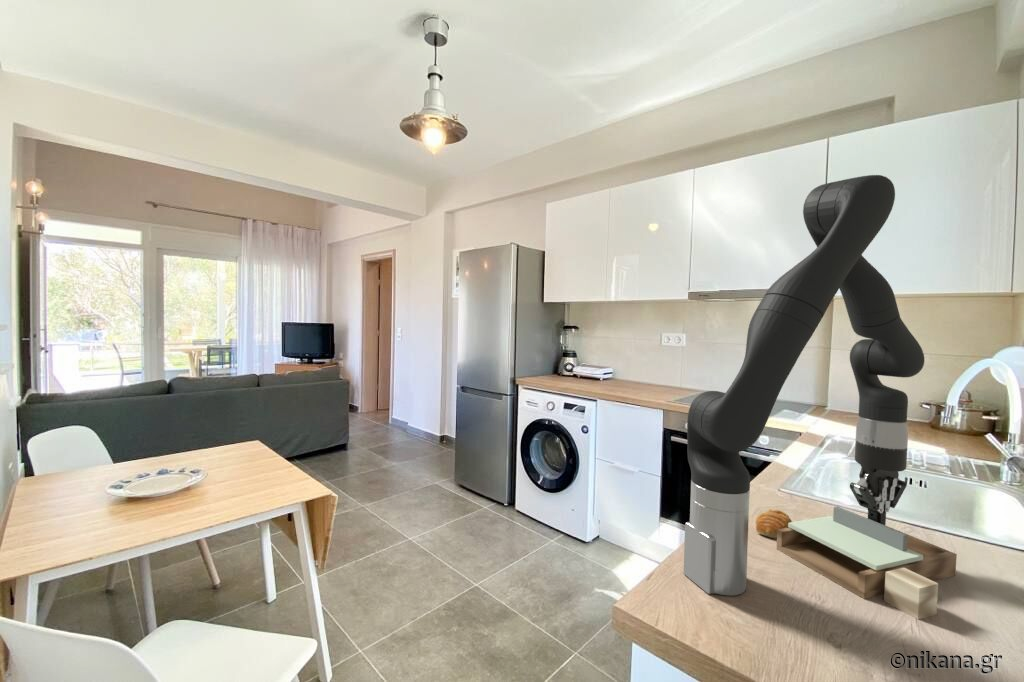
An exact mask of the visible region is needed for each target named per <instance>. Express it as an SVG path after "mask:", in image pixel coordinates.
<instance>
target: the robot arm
mask: <svg viewBox="0 0 1024 682" xmlns="http://www.w3.org/2000/svg"><path fill="white" fill-rule="evenodd" d="M895 188H896V187H895V185H894V183H893V181H892V180H891V178H888V177H887V176H885V175H880V174H871V175H870V174H869V175H862V176H857V177H851V178H846V179H841V180H836V181H831V182H828V183H824V184H820V185H817V187H815V188H812V190H811V191H810V192H809V193H808V195H807V196H806V198H805V200H804V203H803V208H802V214H803V221H804V224H805V227H806V229H807V231H808V233H809V235H810V237H811V238H812V241H813V242H814V244H815V246H816V248H815V249H814V250H813V251H812V252H811V253H809V255H807V256H806V257H804V258H803V259H802V260H801V261H799V262H798V263H797V264H796V265H794V266H793V267H791V268H790V269H789V270H788V271H786V272H785V273H784V274H782V275H781V276H780V277H778V279H777V280H775V281H774V282H773V283H772V285H770V287H769V288H768V290H767V291H766V292H765V294H764V296H763V297H762V299H761V300H760V303H759V304H758V305H757V307H756V309H755V311H754V313H753V315H752V317H751V319H750V322H749V324H748V330H747V335H746V344H745V346H746V347H745V353H744V354H745V356H744V357H743V358H744V359H743V363H742V365H741V367H740V369H739V371H738V373H737V375H736V377H735V378H734V380H733V381H732V383H731V385H730V386H729V388H727V390H726V392H723V391H718V390H717V391H716V390H708V391H707V390H706V391H705V392H701V393H700V394H699V395H697V396H696V397H695V398H694V399H693V400H692V402H691V403H690V405H689V406H690V407H689V409H688V414H687V425H686V426H687V427H686V428H687V429H686V431H687V433H686V436H687V444H686V445H687V446H686V447H687V461H688V464H689V467H690V473H691V477H690V478H691V479H690V505H689V506H690V507H689V508H690V509H689V512H690V513H689V521H687V522H685V524H684V549H683V550H684V551H683V575H685V576H686V577H687V578H688V579H689V580H690V581H692V582H693V583H694V584H695V585H697V586H698V587H699V588H700V589H702V590H703V591H704V592H705V593H706V594H707V595H711V594H718V595H721V596H729V597H730V596H739V595H742V594H743V593H744V592H745V591H746V589H747V576H748V575H747V574H748V572H747V571H748V545H749V544H748V542H749V538H748V537H749V521H750V519H749V516H750V514H749V513H750V492H751V475H750V472H749V470H748V469H747V467H746V466H745V464H744V462H743V460H742V458H741V455H740V452H744V451H745V450H747V449H749V448H750V447H752V446H754V444H755V443H756V442H758V439H759V438H760V436H761V434H763V433H762V432H763V431H764V428H765V427H766V425H767V422H768V420H769V418H770V415H771V413H772V410H773V408H774V406H775V404H776V401H777V399H778V397H779V395H780V392H781V390H782V388H783V387H784V384H785V382H786V380H787V379H788V377H789V375H790V373H791V372H792V371H793V368H794V367H795V365H796V363H797V361H798V359H799V358H800V355H802V352H803V351H804V349H805V348H806V345H807V344H808V343H809V341H810V339H811V338H812V336H813V335H814V333H815V331H816V330H817V328H818V326H819V324H820V323H821V320H823V317H824V316H825V314H826V312H827V310H828V308H829V306H830V304H831V303H832V301H833V300H834V297H835V296H836V294H837V292H838V291H840V293H841V296H842V299H843V302H844V305H845V308H846V312H847V316H848V318H849V321H850V322H849V323H850V325H851V328H852V330H853V332H854V333H855V334H856V335H857V336H859V337H863V338H865V339H860V340H858V341H856V342H855V343H854V344H853V346H852V347H851V349H850V352H849V362H850V366H851V370H852V372H853V376H854V379H855V382H856V387H857V391H858V392H857V393H858V397H859V399H858V418H857V422H856V428H855V442H854V443H855V445H854V460H855V462H856V463H857V464H858V465H860V466H861V468H860V472H859V474H858V477H859V480H858V481H857V482H856V483H855V482H850V483H849V489H850V491H851V492H852V495H853V496H854V497H855V499H856V501H857V503H858V504H859V506H860V507H863V508H865V509H867V518H868V519H870V520H873V521H875V522H878V523H880V524H883V525H885V526H886V524H887V523H886V520H887V513H889V512H890V508H891V509H895V508H896V507H897V504H898V503H899V500H900V499H901V497H902V495H903V493H904V491H905V490H906V488H907V486H908V483H907V481H905V480H901V479H900V478H899V476H900V474H899V472H903V471H905V470H906V469H907V462H908V461H907V459H908V445H909V444H908V443H909V430H908V407H909V398H908V395H907V393H906V392H904V391H903V390H900V389H896V388H893V387H889V386H887V385H885V384H883V383H882V381H881V380H880V378H879V377H878V376H882V377H883V376H884V377H895V378H911V377H914V376H916V375H918V374H919V373H920V372H921V371H922V369H923V368H924V365H925V353H924V351H923V349H922V346H921V345H920V343H919V342H918V341H917V339H916V338H915V336H914V335H913V334H912V332H911V331H910V330H909V328H908V327H907V325H906V324H905V323H904V321H903V320H902V318H901V314H900V311H899V308H898V304H897V300H896V296H895V294H894V291H893V288H892V286H891V284H890V283H889V282H888V281H887V279H886V277H884V275H883V274H882V273H880V272H879V270H878V269H877V268H876V267H874V266H873V265H872V264H871V263H870V262H869V261H868V260H867V258H865V257H864V256H863V255H864V254H863V253H864V252H865V251H866V250H867V248H868V247H869V246H870V244H871V243H872V242H873V240H874V239H875V238H876V237H877V235H878V233H880V231H881V229H882V228H883V226H884V225H885V223H886V222H887V220H888V218H889V216H890V214H891V212H892V210H893V207H894V205H895V199H896V190H895Z"/></svg>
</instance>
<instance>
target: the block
mask: <svg viewBox="0 0 1024 682" xmlns="http://www.w3.org/2000/svg"><path fill="white" fill-rule="evenodd" d="M938 591H939V583H938V582H936V581H932V580H930V579H927V578H925V577H923V576H921V575H919V574H917V573H915V572H912V571H910V570H908V569H906V568H900V569H895V570H891V571H887V572H886V573H885V594H883V595H884V596H883V598H884V599H883V601H884V602H885V603H887V604H889V605H891V606H893V607H894V608H897V609H898V610H900V611H901V612H904V613H905V614H907V615H909V616H910V617H912V618H914V619H916V620H920V619H921V620H922V619H925V618H928V617H932V616H935V615H937V614H938V612H937V611H938V597H939V596H938V594H939V592H938Z"/></svg>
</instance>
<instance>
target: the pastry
mask: <svg viewBox="0 0 1024 682" xmlns="http://www.w3.org/2000/svg"><path fill="white" fill-rule="evenodd" d="M790 522H793V521H792V519H791V518H790V516H789V515H788V514H787V513H786V512H784V511H782V510H778V509H773V510H772V509H768V510H766V511H765V512H763V513H761V514H760V515H758V516H757V518H756V519H755V530H756V532H757V533H758V535H763V536H765V537H768V538H772V539H776V540H777V530H778V529H784V528H790V527H788V523H790Z"/></svg>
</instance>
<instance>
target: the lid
mask: <svg viewBox="0 0 1024 682" xmlns="http://www.w3.org/2000/svg"><path fill="white" fill-rule="evenodd" d="M788 527H790V528H792V529H794V530H796V531H798V532H800V533H802V534H804V535H806V536H808V537H810V538H812V539H814V540H816V541H818V542H820V543H822V544H824V545H826V546H828V547H830V548H832V549H834V550H836V551H838V552H840V553H842V554H844V555H846V556H848V557H850V558H852V559H854V560H856V561H858V562H860V563H862V564H864V565H866V566H868V567H870V568H872V569H874V570H876V571H877V570H881V569H885V568H890V567H894V566H898V565H903V564H907V563H911V562H916V561H920V560H923V555H921V554H919V553H917V552H914V551H912V550H909V549H907V543H908V535H909V534H907V533H905V532H903V531H900V530H898V529H895V528H893V527H890V526H887V525H886V524H885V525H883V524H880V523H878V522H875V521H873V520H870V519H868V517H865V516H863V515H860V514H857V513H855V512H852V511H851V510H848V509H846V508H842V507H839V506H834V507H833V516H832V515H828V516H821V517H815V518H808V519H802V520H797V521H792V522H790V523H788Z"/></svg>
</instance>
